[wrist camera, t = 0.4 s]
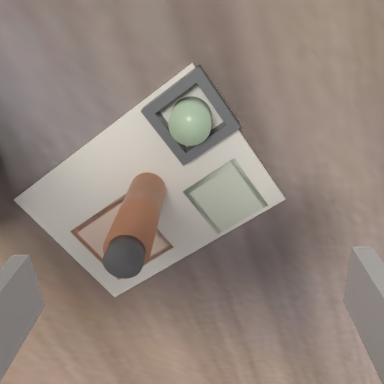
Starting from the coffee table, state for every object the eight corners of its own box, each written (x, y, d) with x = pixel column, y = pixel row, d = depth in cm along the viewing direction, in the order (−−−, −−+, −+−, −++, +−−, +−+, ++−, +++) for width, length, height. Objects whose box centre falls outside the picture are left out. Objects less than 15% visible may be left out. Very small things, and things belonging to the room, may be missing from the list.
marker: (123, 184, 40) (87, 257, 28) (150, 165, 39) (125, 233, 27) (145, 210, 42) (120, 289, 30) (173, 192, 41) (157, 268, 28)
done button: (163, 111, 36) (159, 120, 33) (195, 88, 35) (194, 94, 32) (187, 143, 37) (185, 153, 34) (218, 121, 36) (219, 130, 33)
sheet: (14, 198, 42) (12, 200, 42) (192, 62, 35) (192, 63, 34) (115, 295, 48) (114, 298, 48) (284, 197, 41) (285, 199, 40)
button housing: (143, 106, 36) (140, 111, 35) (199, 64, 34) (199, 66, 33) (184, 159, 39) (183, 166, 37) (239, 122, 37) (240, 127, 35)
